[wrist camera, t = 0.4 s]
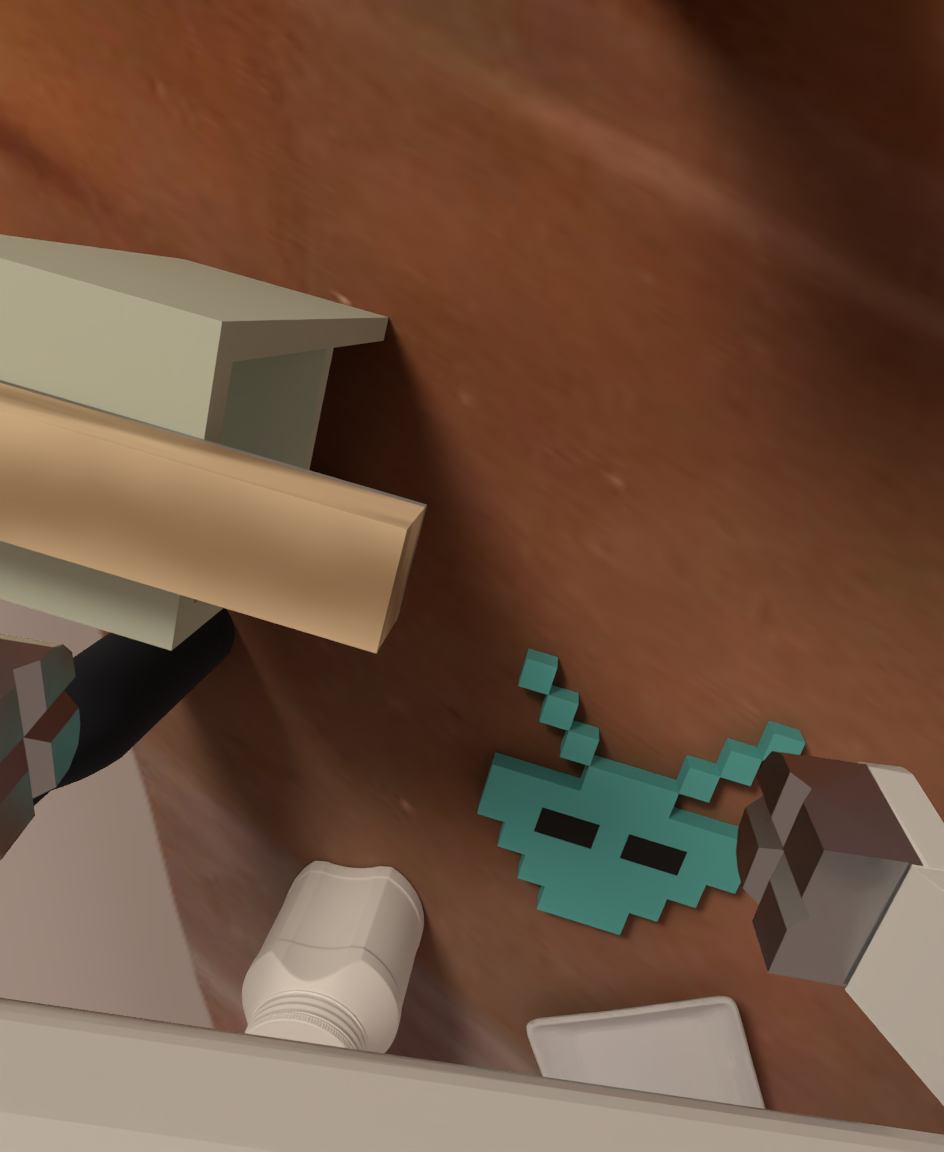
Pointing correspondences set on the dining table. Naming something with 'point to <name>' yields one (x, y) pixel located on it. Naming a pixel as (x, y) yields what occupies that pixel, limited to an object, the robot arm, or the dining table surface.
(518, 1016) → the dining table surface
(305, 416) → the shelf stand
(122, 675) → the wine bottle
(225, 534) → the block
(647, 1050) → the tray
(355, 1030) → the jar
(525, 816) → the alien figure
